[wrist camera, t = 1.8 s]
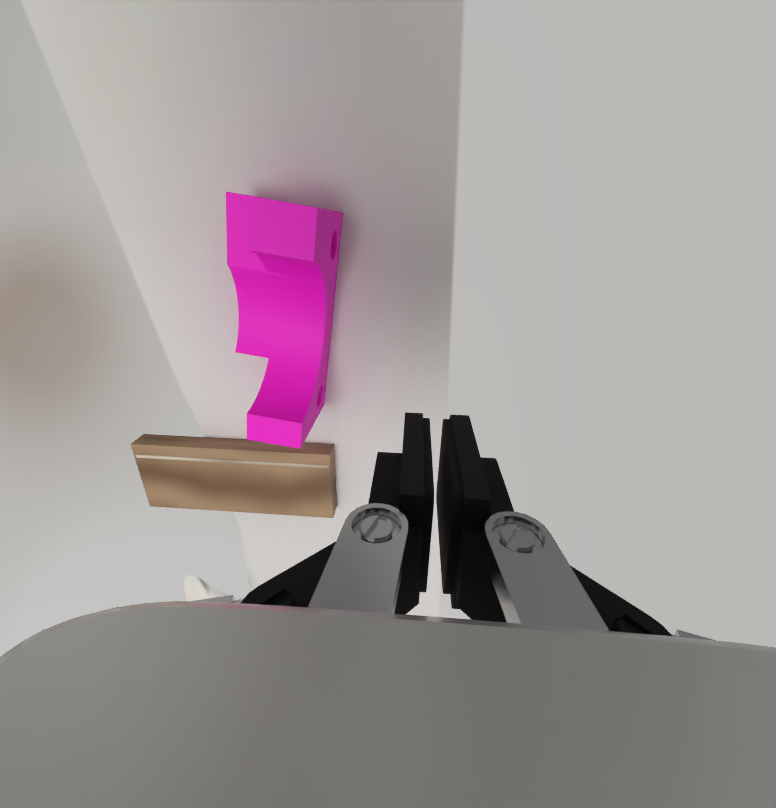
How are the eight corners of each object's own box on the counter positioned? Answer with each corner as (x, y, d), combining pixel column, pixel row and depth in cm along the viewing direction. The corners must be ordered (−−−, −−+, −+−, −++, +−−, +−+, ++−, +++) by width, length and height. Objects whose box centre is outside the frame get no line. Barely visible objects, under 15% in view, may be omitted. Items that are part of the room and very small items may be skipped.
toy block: (255, 197, 26) (199, 186, 20) (343, 213, 26) (317, 207, 20) (254, 390, 33) (211, 433, 26) (324, 403, 33) (300, 448, 26)
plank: (143, 434, 35) (130, 444, 34) (333, 444, 34) (329, 455, 33) (161, 494, 38) (149, 506, 37) (336, 505, 37) (333, 518, 36)
